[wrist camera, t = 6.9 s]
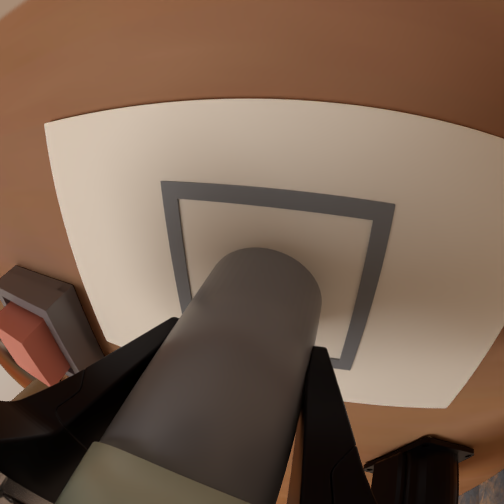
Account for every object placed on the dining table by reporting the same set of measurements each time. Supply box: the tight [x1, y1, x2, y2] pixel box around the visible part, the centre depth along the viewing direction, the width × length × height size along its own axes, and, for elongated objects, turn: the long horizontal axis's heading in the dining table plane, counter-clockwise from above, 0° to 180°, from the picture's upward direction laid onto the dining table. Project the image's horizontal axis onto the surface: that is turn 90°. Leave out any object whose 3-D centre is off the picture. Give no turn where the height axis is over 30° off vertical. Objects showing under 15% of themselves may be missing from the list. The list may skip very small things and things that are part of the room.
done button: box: [0, 301, 71, 387], centre depth 16 cm, size 4×4×2 cm
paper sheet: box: [44, 98, 504, 408], centre depth 11 cm, size 20×13×1 cm, turn 90°
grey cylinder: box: [55, 247, 322, 504], centre depth 7 cm, size 4×4×9 cm
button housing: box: [0, 266, 104, 377], centre depth 17 cm, size 7×7×2 cm
